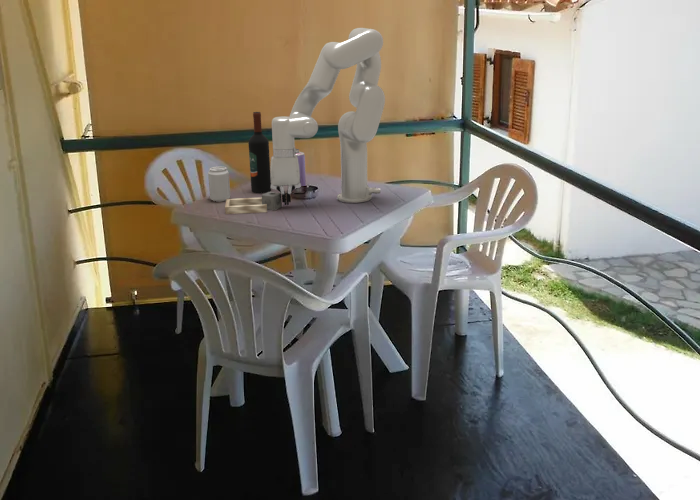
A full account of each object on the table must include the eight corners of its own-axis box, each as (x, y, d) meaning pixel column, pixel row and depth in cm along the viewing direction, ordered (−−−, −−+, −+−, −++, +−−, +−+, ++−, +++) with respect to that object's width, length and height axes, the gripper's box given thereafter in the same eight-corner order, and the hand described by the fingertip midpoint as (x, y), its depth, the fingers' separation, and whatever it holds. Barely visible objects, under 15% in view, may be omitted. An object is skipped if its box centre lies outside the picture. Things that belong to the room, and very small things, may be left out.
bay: (266, 204, 262) (266, 197, 261) (267, 212, 252) (266, 205, 251) (227, 205, 260) (226, 199, 259) (225, 214, 251) (225, 207, 250)
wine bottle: (268, 193, 275) (264, 114, 265) (249, 193, 276) (244, 113, 266) (273, 188, 282) (269, 110, 272) (254, 188, 283) (249, 110, 273)
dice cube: (281, 206, 258) (281, 193, 256) (274, 210, 254) (273, 196, 252) (269, 205, 260) (269, 191, 259) (262, 208, 256) (261, 195, 254)
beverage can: (303, 194, 274) (302, 155, 268) (288, 193, 275) (286, 154, 270) (307, 190, 279) (306, 151, 274) (292, 189, 280) (291, 151, 275)
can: (216, 203, 263) (214, 171, 259) (206, 199, 269) (203, 167, 265) (234, 199, 268) (232, 167, 264) (224, 195, 273) (221, 164, 269)
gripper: (305, 149, 255) (307, 200, 262) (262, 151, 254) (265, 202, 260) (306, 154, 248) (308, 206, 254) (262, 156, 247) (265, 208, 253)
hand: (286, 204), depth 257 cm, fingers closed
